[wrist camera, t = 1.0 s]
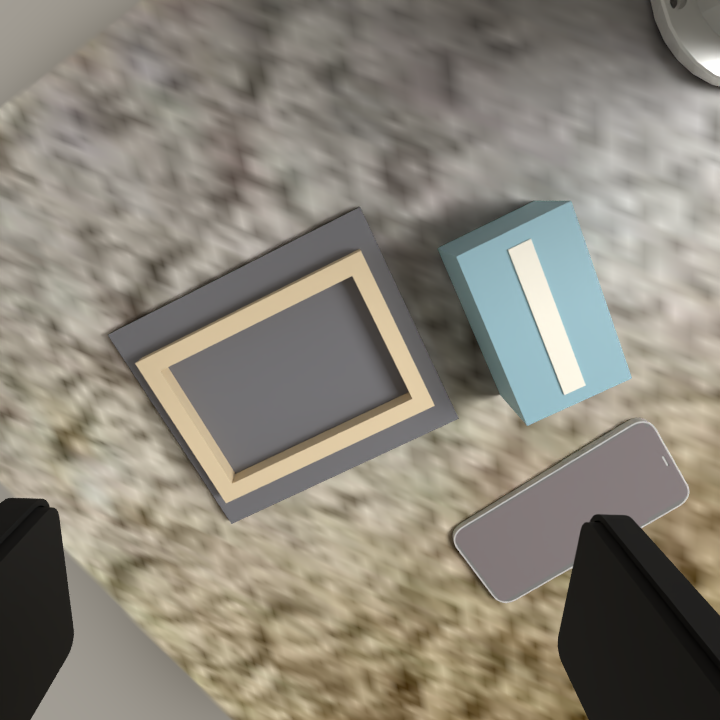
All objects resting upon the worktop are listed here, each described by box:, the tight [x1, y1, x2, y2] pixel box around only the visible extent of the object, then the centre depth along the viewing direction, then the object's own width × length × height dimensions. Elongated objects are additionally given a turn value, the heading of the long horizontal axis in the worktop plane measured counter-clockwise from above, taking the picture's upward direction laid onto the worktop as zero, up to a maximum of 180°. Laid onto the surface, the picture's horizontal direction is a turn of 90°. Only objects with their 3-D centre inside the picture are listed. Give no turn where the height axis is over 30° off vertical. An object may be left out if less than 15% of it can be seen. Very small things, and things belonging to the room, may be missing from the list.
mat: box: [108, 207, 459, 524], centre depth 31 cm, size 16×14×2 cm
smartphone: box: [452, 418, 689, 603], centre depth 36 cm, size 7×1×15 cm
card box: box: [437, 201, 632, 426], centre depth 29 cm, size 10×6×5 cm, turn 26°
